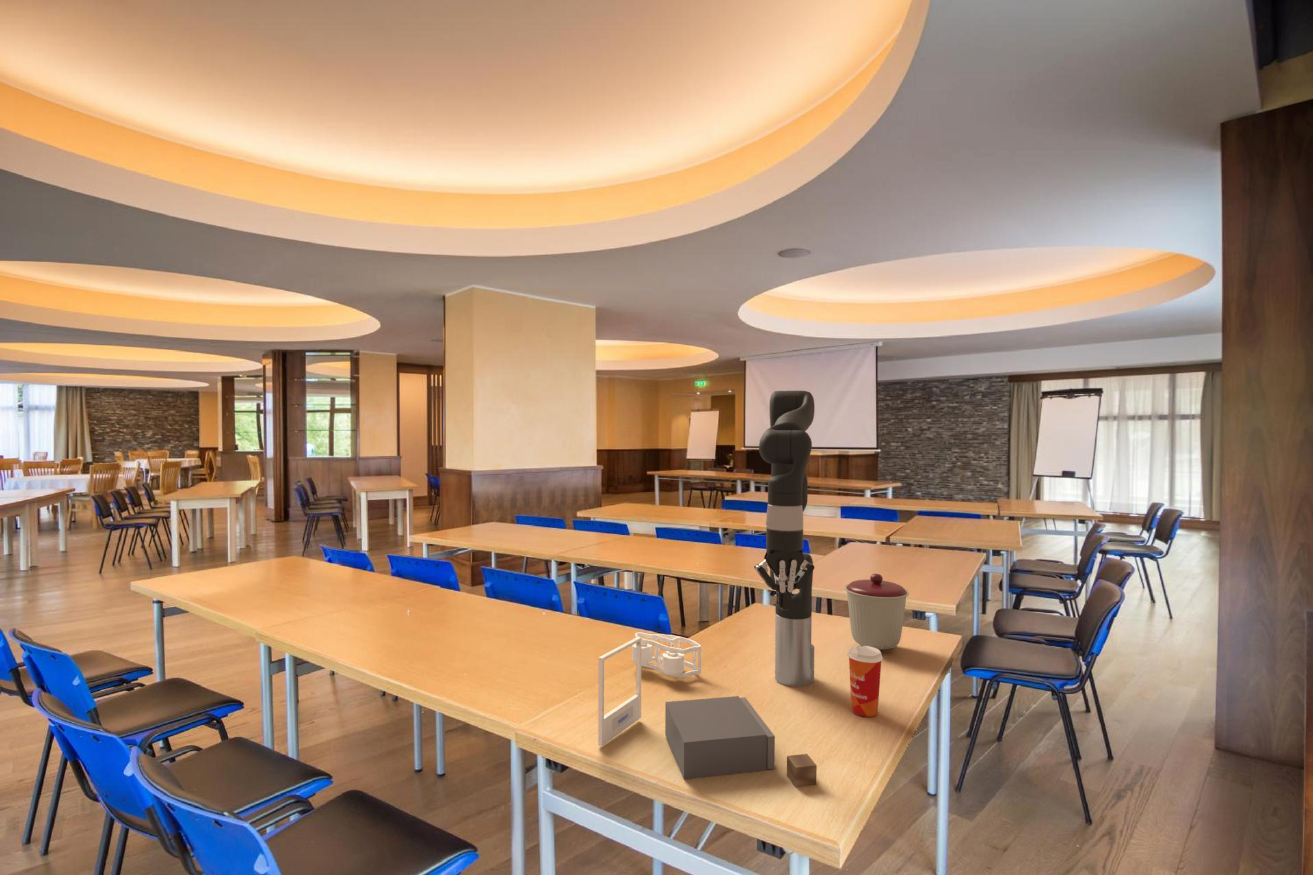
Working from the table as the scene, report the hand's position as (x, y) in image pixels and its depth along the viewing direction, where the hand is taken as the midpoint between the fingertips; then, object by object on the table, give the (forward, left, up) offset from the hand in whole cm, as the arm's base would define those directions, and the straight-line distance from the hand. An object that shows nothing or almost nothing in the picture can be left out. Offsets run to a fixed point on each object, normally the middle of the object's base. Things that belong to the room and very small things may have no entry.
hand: (784, 609), depth 130 cm
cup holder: (+17, -42, -27) cm, 53 cm away
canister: (-49, -48, -27) cm, 74 cm away
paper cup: (-23, -8, -27) cm, 37 cm away
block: (+3, +16, -27) cm, 32 cm away
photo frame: (+33, -9, -27) cm, 44 cm away
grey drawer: (+16, +3, -27) cm, 32 cm away
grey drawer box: (+16, +3, -27) cm, 32 cm away
